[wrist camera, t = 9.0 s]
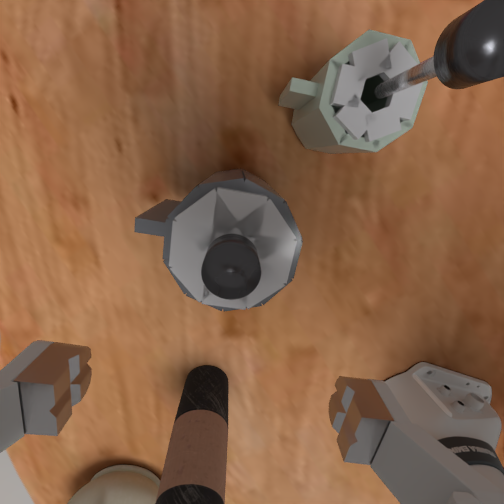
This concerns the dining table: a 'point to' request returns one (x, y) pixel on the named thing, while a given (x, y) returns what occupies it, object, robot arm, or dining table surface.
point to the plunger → (231, 267)
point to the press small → (355, 97)
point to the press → (226, 222)
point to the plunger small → (460, 53)
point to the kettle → (119, 487)
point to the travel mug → (198, 442)
